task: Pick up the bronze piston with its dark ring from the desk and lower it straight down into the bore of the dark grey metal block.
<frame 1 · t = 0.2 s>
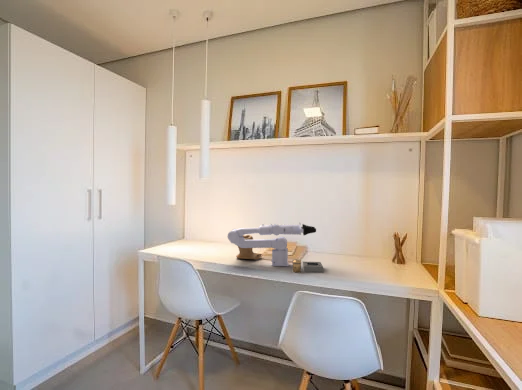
hand: (315, 229, 164), 21 cm above the table, fingers open, 7 cm apart
piston: (296, 271, 152), on the table
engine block: (312, 269, 156), on the table
brown boot: (247, 259, 178), on the table, touching arm
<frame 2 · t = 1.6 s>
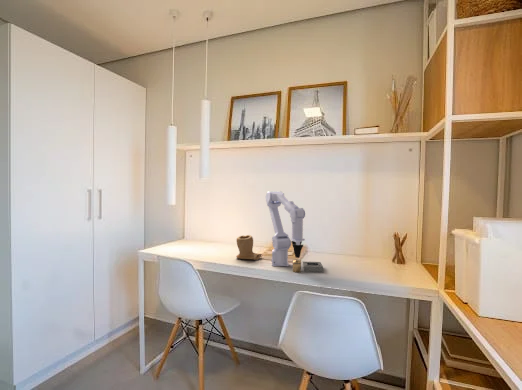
hand: (296, 255, 152), 8 cm above the table, fingers open, 7 cm apart
brown boot: (247, 259, 178), on the table
everything else where it was.
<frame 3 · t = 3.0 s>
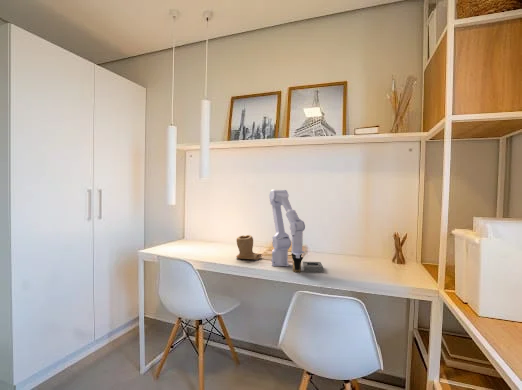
hand: (296, 268, 152), 2 cm above the table, fingers closed on piston, 4 cm apart
piston: (296, 271, 152), on the table, touching gripper
everything else where it was.
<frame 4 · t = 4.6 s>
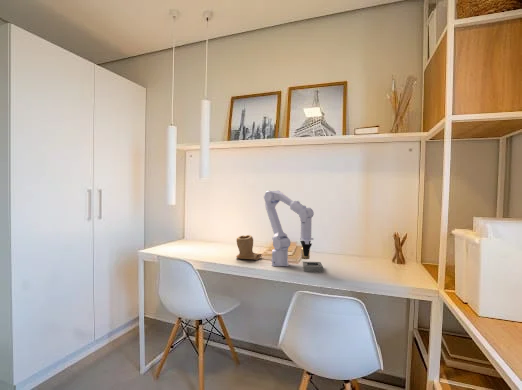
hand: (305, 254, 154), 8 cm above the table, fingers closed on piston, 4 cm apart
piston: (305, 258, 154), point 7 cm above the table, touching gripper
everything else where it was.
when the fingers open (4 cm above the table, at t = 6.4 s): piston drops 2 cm, resting in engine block.
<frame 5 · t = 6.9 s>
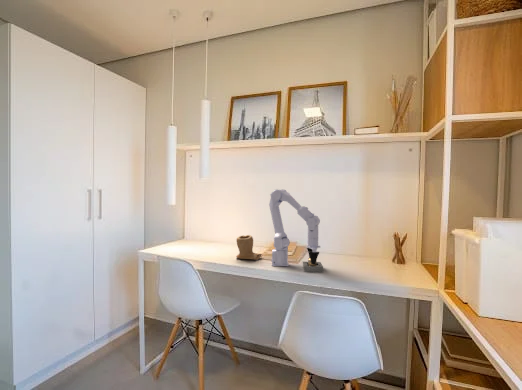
hand: (312, 262, 156), 4 cm above the table, fingers open, 7 cm apart
piston: (312, 269, 156), resting in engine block
everything else where it was.
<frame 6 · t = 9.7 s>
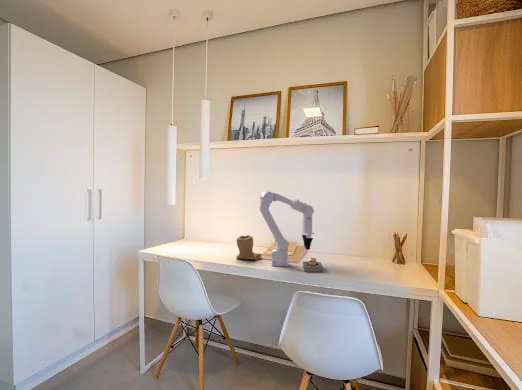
hand: (306, 248, 168), 9 cm above the table, fingers open, 7 cm apart
nothing on the table moved.
at the end: piston 0.2 cm off-centre on the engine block, point 0.0 cm above the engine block's base; piston tilted 0°; the gripper is holding nothing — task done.
